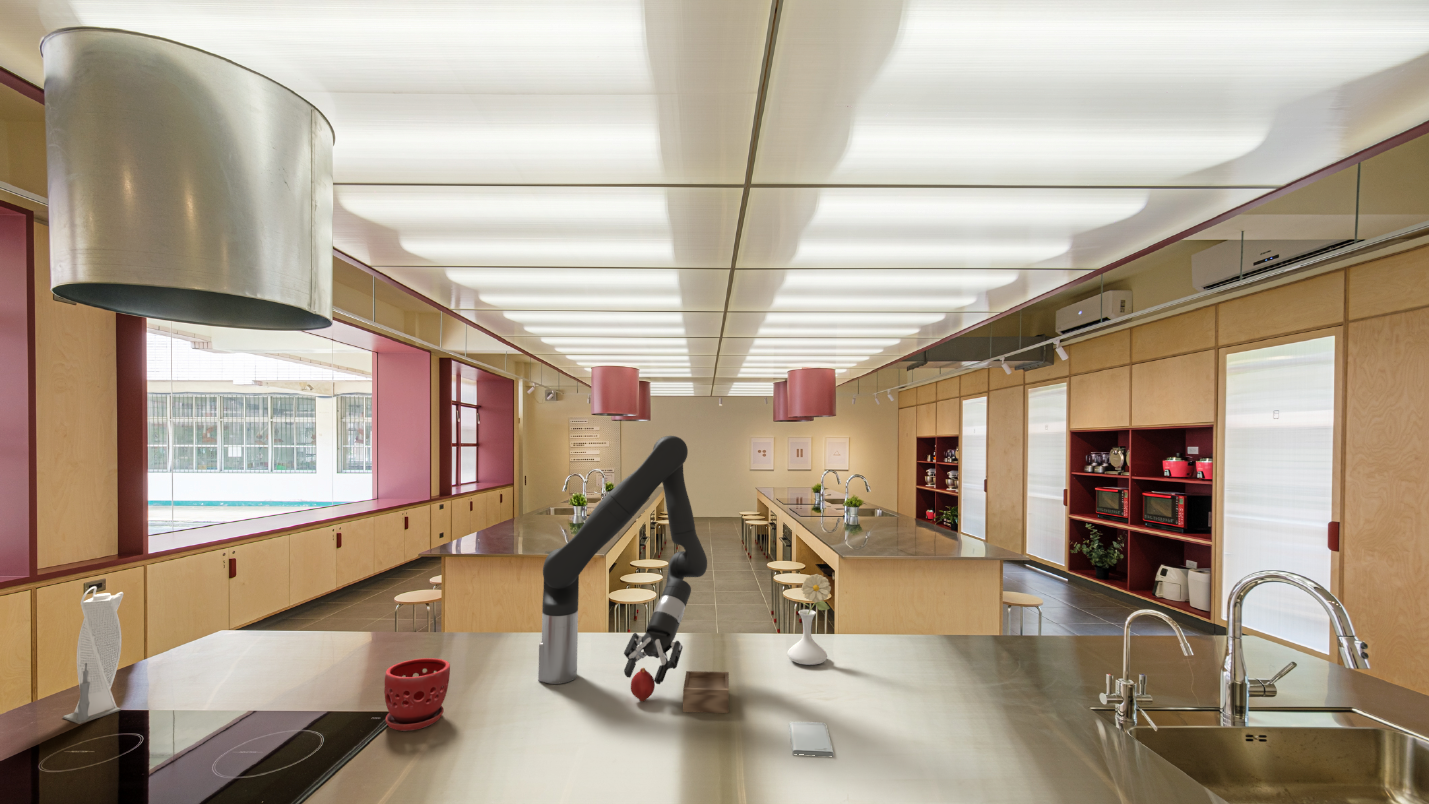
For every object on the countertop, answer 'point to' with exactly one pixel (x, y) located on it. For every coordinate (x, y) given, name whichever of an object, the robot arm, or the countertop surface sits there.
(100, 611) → the skyscraper
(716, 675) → the wooden tray
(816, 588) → the flower in vase
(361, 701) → the countertop surface
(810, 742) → the hard drive
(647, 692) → the onion
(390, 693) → the plant pot
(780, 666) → the countertop surface
